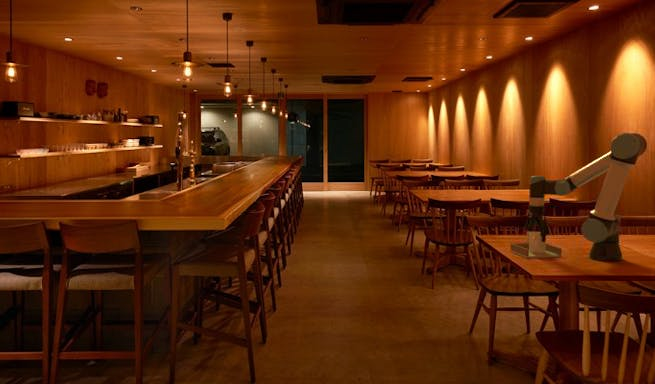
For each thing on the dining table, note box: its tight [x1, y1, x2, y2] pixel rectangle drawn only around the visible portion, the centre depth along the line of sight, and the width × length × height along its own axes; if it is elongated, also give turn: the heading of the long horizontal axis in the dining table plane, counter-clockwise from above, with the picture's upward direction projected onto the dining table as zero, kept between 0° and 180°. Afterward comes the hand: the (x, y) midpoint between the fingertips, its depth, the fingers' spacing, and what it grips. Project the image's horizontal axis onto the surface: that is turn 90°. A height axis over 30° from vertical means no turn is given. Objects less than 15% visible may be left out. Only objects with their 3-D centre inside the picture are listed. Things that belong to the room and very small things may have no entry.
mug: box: [529, 231, 546, 254], centre depth 302 cm, size 12×8×10 cm
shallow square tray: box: [509, 242, 562, 259], centre depth 303 cm, size 18×19×4 cm
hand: (535, 245), depth 303 cm, fingers open, 13 cm apart
